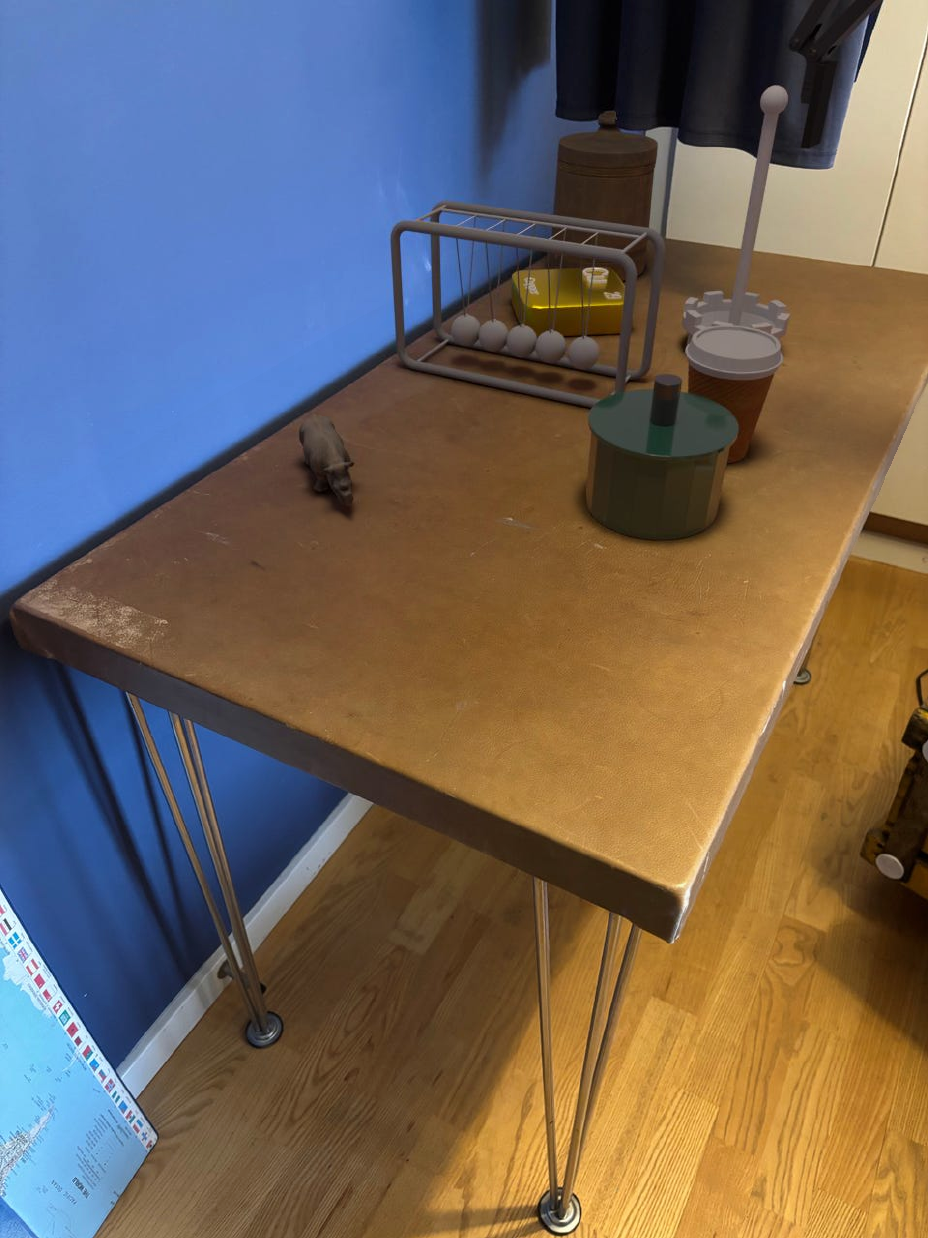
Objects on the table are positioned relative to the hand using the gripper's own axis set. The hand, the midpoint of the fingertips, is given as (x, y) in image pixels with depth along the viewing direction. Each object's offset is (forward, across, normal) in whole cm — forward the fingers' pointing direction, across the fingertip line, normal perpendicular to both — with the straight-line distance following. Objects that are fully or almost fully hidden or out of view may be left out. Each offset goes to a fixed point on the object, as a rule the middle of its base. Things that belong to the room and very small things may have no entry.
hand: (885, 156), depth 79 cm
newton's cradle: (+29, -36, -3) cm, 46 cm away
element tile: (+29, -42, +17) cm, 54 cm away
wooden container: (+29, -50, +37) cm, 69 cm away
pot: (+29, -8, -20) cm, 36 cm away
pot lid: (+20, -8, -20) cm, 30 cm away
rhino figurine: (+29, -35, -37) cm, 59 cm away
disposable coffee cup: (+29, -8, -6) cm, 31 cm away
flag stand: (+29, -19, +20) cm, 40 cm away
